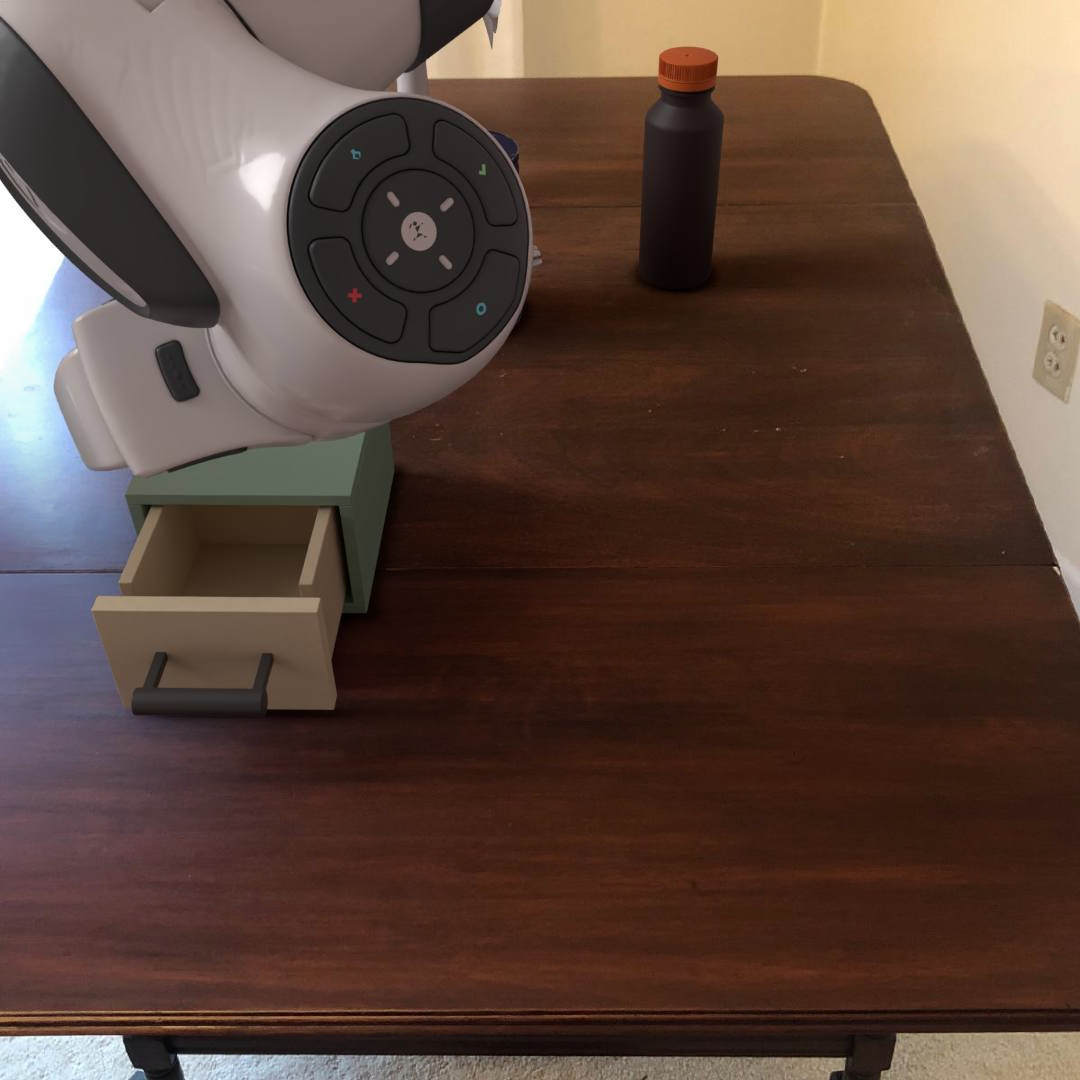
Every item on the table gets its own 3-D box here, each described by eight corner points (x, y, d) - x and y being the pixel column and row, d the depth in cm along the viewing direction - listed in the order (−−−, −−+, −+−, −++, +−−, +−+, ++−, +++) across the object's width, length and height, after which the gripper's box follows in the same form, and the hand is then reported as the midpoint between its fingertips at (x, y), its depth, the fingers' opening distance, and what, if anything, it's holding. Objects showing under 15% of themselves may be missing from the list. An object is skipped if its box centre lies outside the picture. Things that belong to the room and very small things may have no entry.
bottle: (630, 286, 113) (639, 65, 100) (647, 253, 118) (657, 39, 105) (702, 296, 111) (721, 72, 98) (717, 262, 116) (736, 46, 103)
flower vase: (522, 218, 124) (517, -47, 108) (339, 231, 122) (307, -37, 106) (507, 168, 134) (500, -82, 118) (337, 179, 132) (307, -74, 116)
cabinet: (366, 613, 79) (350, 495, 73) (157, 612, 79) (124, 494, 73) (394, 470, 91) (382, 358, 85) (213, 469, 91) (188, 358, 85)
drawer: (322, 767, 68) (303, 668, 63) (101, 764, 68) (65, 666, 63) (367, 550, 82) (354, 456, 77) (184, 548, 83) (160, 454, 78)
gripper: (528, 171, 50) (442, 245, 63) (26, 331, 44) (45, 376, 57) (582, 317, 51) (485, 361, 64) (96, 495, 45) (99, 503, 58)
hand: (275, 369), depth 60 cm, fingers open, 8 cm apart
